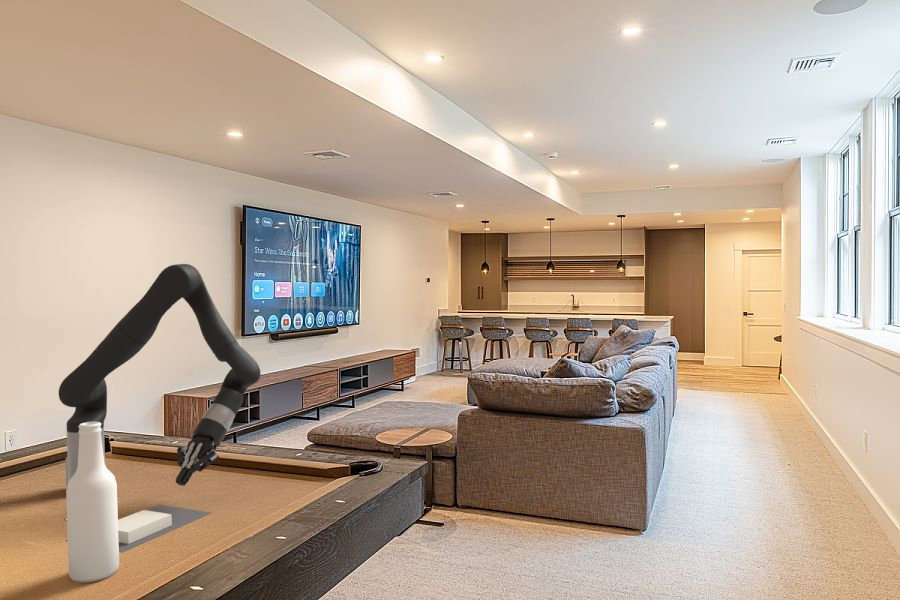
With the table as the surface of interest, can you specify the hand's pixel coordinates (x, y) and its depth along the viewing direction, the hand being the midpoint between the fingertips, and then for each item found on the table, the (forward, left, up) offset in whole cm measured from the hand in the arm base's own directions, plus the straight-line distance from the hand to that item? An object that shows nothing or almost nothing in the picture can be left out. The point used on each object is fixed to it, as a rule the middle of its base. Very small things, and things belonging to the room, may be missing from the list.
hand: (179, 484), depth 162 cm
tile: (0, -7, -6) cm, 9 cm away
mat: (-2, -10, -8) cm, 13 cm away
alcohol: (+10, -32, -8) cm, 34 cm away
